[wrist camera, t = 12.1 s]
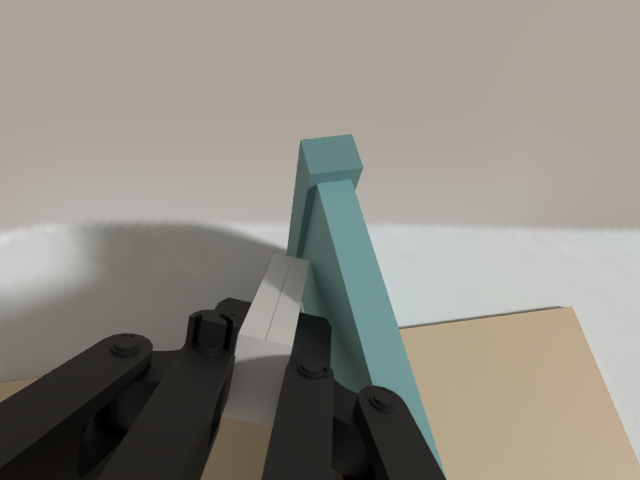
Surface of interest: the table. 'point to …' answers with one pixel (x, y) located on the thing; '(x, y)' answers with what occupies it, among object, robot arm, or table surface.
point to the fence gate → (348, 275)
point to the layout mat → (485, 404)
